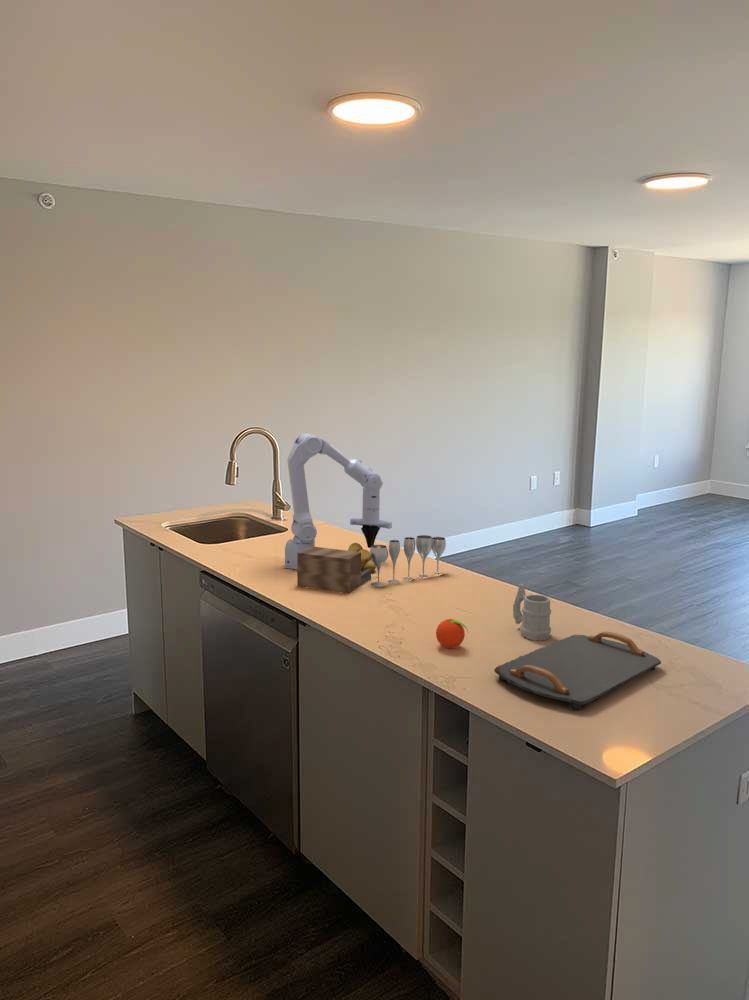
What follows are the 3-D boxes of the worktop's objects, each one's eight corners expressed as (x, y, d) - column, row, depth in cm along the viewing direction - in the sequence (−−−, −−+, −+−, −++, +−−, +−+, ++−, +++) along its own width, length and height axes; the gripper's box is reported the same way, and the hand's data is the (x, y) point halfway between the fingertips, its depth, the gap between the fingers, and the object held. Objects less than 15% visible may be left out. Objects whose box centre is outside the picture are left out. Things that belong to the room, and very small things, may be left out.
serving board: (575, 721, 149) (577, 691, 148) (482, 683, 166) (483, 656, 165) (669, 669, 175) (671, 643, 174) (580, 641, 192) (582, 617, 191)
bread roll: (382, 571, 250) (382, 547, 249) (360, 576, 244) (360, 552, 243) (356, 563, 260) (356, 540, 258) (334, 568, 253) (334, 544, 252)
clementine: (472, 645, 187) (473, 617, 185) (463, 655, 181) (464, 626, 179) (441, 640, 190) (441, 612, 189) (431, 649, 184) (432, 621, 182)
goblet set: (437, 571, 252) (439, 531, 249) (448, 575, 247) (450, 535, 245) (365, 583, 237) (366, 541, 235) (375, 588, 232) (376, 545, 230)
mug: (535, 643, 189) (537, 596, 187) (502, 629, 199) (504, 584, 196) (557, 637, 193) (560, 591, 191) (523, 623, 203) (526, 580, 201)
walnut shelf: (297, 586, 233) (297, 552, 231) (322, 572, 248) (322, 540, 246) (348, 593, 226) (348, 559, 224) (371, 579, 241) (371, 546, 240)
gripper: (395, 507, 259) (394, 546, 262) (356, 504, 265) (356, 542, 267) (387, 511, 253) (387, 551, 255) (347, 507, 259) (347, 546, 261)
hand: (370, 547), depth 261 cm, fingers closed
